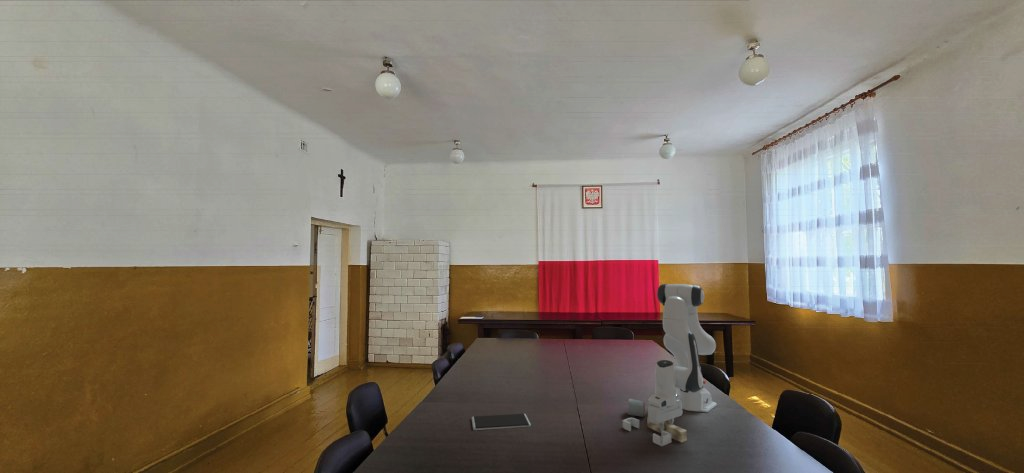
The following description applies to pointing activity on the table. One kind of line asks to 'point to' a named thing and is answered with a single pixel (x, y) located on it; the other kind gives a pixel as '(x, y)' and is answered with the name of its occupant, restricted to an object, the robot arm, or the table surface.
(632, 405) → the ceramic mug
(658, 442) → the cap
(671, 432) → the tan wooden beam
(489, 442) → the table surface
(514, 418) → the smartphone
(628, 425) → the cap
